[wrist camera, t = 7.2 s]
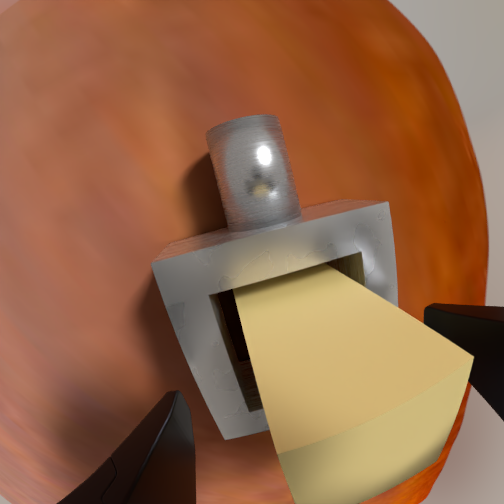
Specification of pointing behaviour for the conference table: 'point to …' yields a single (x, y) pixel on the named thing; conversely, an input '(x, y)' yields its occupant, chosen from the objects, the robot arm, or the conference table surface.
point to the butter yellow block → (348, 384)
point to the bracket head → (260, 259)
